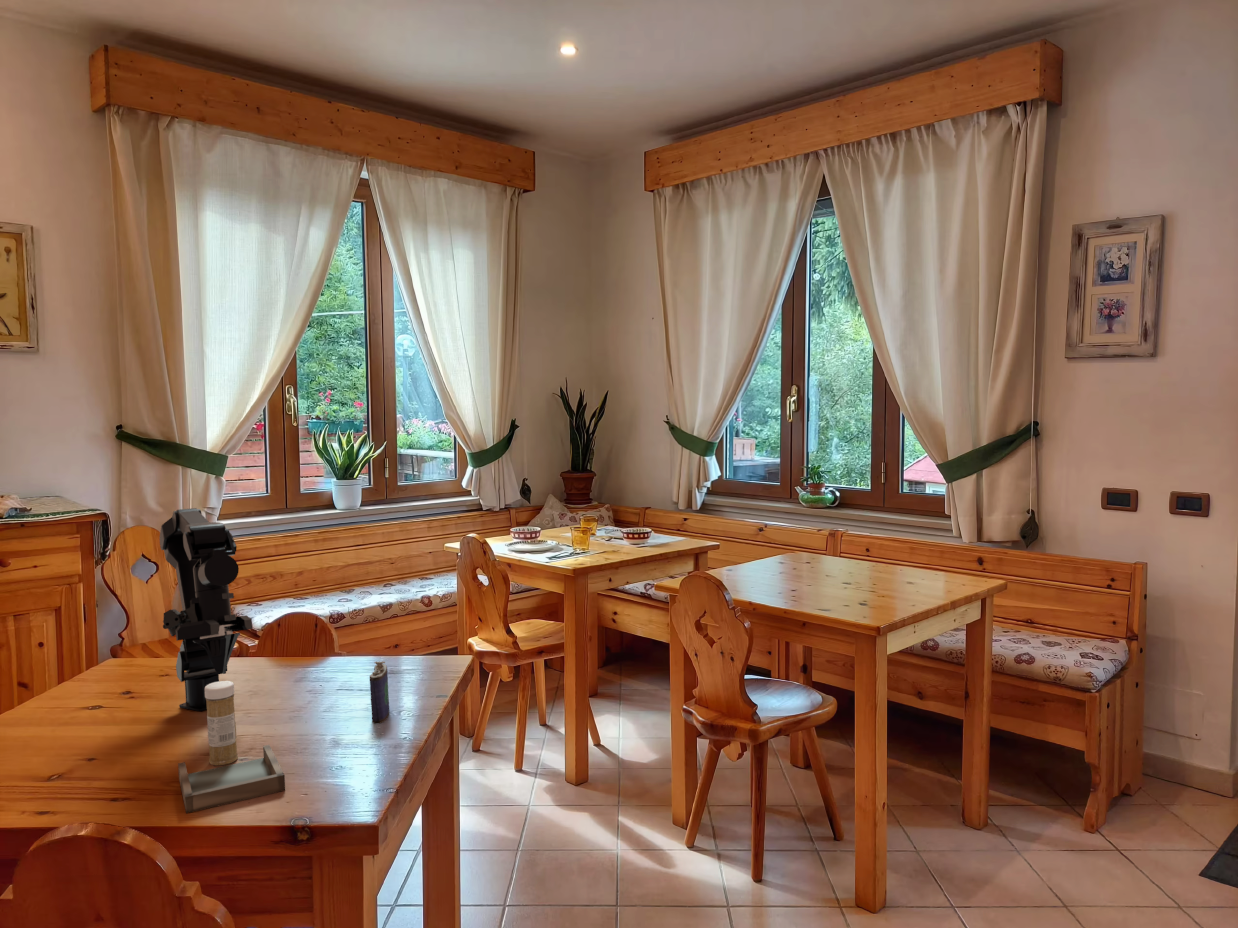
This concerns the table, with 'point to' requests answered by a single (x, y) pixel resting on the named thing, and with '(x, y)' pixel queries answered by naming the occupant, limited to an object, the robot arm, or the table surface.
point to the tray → (231, 782)
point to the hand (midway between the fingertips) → (220, 673)
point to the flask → (379, 693)
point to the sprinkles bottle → (221, 722)
